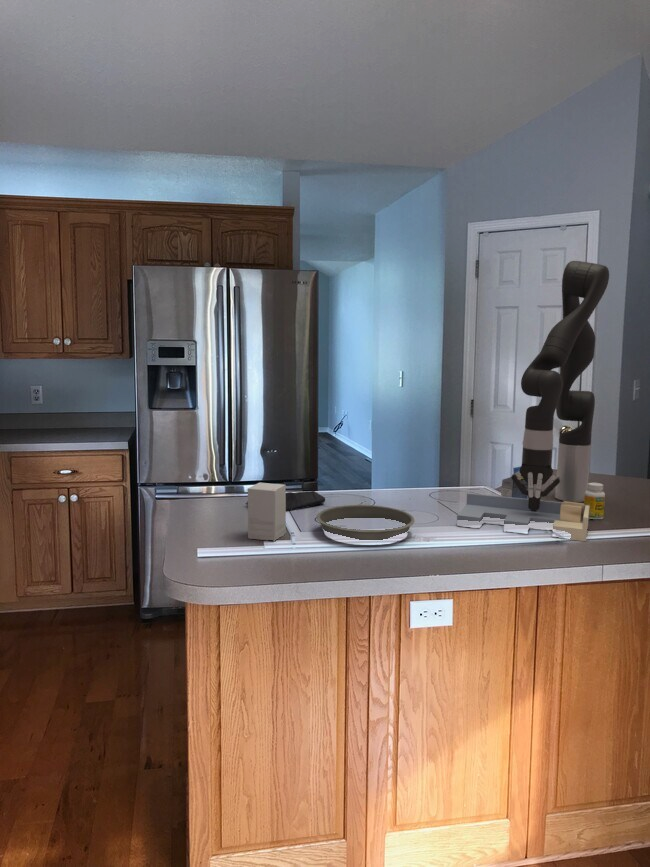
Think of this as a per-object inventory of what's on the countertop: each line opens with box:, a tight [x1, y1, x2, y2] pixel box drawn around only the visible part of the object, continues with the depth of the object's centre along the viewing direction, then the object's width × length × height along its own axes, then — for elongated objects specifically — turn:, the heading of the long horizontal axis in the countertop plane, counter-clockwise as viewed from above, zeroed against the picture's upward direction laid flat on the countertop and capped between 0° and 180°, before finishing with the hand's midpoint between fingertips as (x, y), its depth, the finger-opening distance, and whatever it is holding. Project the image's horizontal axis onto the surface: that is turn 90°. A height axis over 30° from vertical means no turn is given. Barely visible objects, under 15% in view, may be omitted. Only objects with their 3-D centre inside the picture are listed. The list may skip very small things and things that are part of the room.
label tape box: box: [500, 466, 528, 499], centre depth 215 cm, size 9×4×12 cm, turn 135°
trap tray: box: [456, 492, 590, 542], centre depth 194 cm, size 14×32×6 cm, turn 69°
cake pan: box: [315, 504, 416, 540], centre depth 186 cm, size 25×25×4 cm
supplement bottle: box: [583, 482, 606, 520], centre depth 204 cm, size 5×5×10 cm
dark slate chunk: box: [245, 490, 326, 511], centre depth 213 cm, size 15×22×5 cm
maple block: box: [560, 501, 584, 523], centre depth 191 cm, size 5×5×4 cm
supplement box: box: [247, 482, 287, 541], centre depth 180 cm, size 7×7×13 cm
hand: (533, 510), depth 196 cm, fingers closed
